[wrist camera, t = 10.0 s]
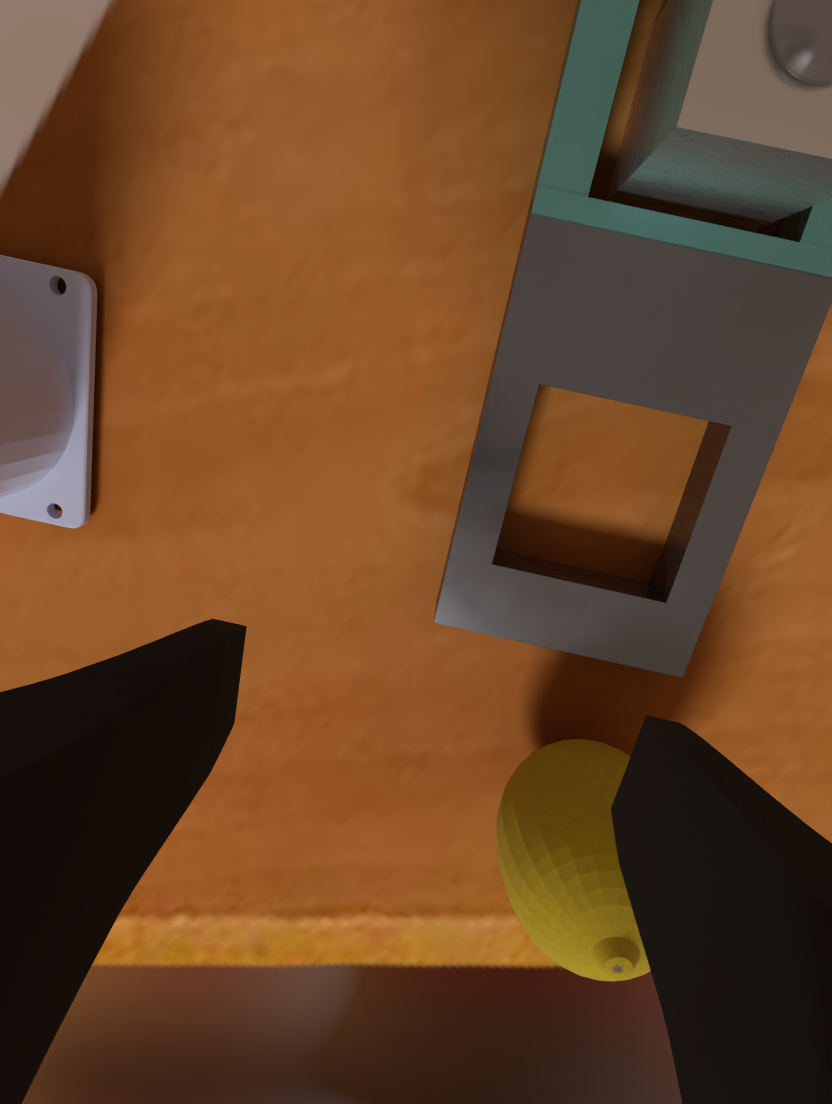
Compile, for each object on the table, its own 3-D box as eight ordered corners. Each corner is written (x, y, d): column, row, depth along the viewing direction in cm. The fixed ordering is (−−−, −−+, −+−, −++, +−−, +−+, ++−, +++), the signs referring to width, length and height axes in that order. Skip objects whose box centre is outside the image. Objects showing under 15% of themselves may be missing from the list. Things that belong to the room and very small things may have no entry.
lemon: (558, 666, 21) (609, 840, 14) (678, 752, 22) (790, 964, 14) (461, 769, 23) (458, 976, 15) (575, 846, 24) (627, 1082, 16)
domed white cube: (605, 202, 17) (680, 122, 11) (651, 28, 16) (765, -169, 10) (748, 232, 17) (901, 168, 11) (807, 59, 15) (1016, -119, 10)
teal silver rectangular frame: (436, 602, 21) (433, 623, 19) (615, -161, 14) (634, -225, 13) (666, 654, 21) (683, 679, 19) (950, -91, 14) (1011, -147, 13)
